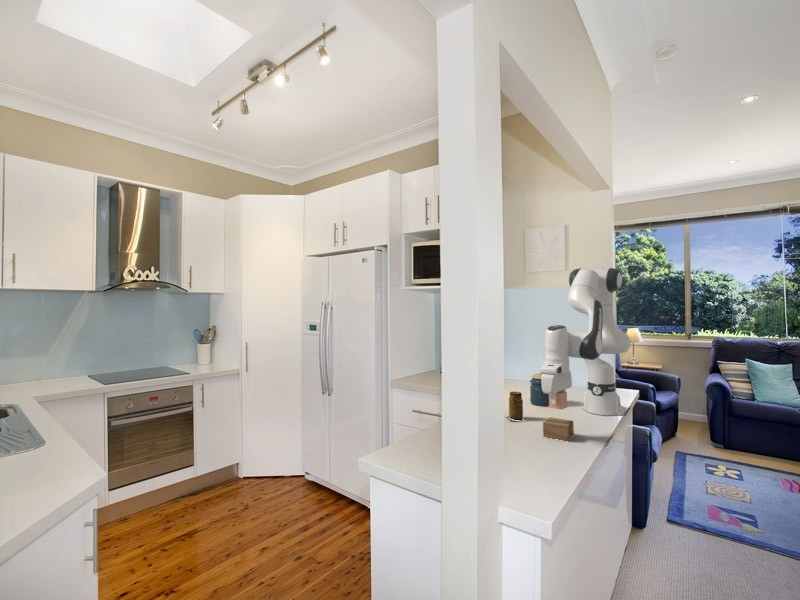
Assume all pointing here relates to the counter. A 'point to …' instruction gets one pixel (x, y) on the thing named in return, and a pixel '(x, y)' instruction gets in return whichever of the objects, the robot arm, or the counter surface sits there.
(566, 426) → the walnut box
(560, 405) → the terracotta cube
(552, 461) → the counter surface
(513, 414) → the condiment
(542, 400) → the canister
